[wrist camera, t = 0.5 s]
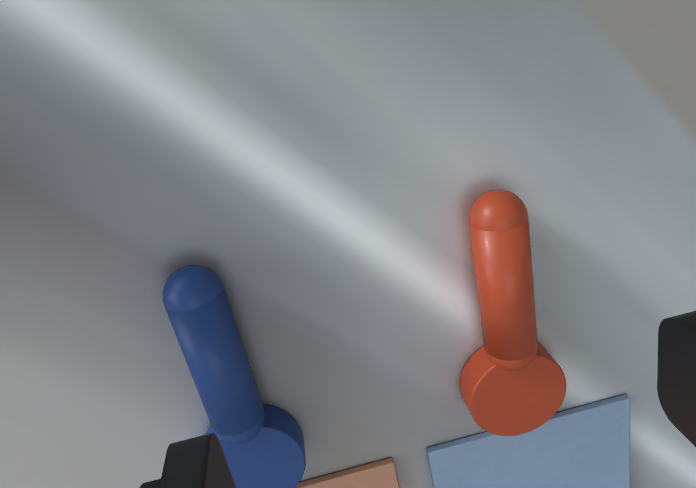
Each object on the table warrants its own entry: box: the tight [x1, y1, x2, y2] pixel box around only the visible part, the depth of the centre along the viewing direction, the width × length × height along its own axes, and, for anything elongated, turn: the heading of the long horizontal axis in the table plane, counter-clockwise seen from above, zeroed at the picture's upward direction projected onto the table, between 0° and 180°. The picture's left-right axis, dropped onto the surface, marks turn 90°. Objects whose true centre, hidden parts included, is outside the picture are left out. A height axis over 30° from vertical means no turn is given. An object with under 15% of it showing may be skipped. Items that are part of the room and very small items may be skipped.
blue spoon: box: [163, 265, 306, 488], centre depth 28 cm, size 14×5×3 cm, turn 11°
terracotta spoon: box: [460, 190, 566, 436], centre depth 29 cm, size 14×5×3 cm, turn 11°
